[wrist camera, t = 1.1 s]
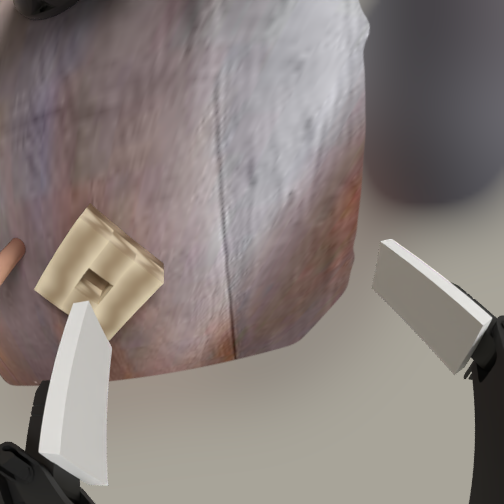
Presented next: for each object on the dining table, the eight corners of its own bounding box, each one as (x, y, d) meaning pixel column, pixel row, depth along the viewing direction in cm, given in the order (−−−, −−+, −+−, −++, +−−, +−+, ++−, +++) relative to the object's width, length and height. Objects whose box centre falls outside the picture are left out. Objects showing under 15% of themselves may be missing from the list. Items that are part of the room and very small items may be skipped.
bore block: (45, 270, 40) (34, 289, 35) (90, 203, 38) (79, 216, 33) (112, 319, 48) (109, 340, 43) (163, 263, 46) (163, 282, 41)
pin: (7, 248, 36) (-28, 291, 24) (14, 234, 35) (-24, 276, 24) (21, 260, 38) (-12, 306, 26) (28, 246, 37) (-7, 291, 25)
